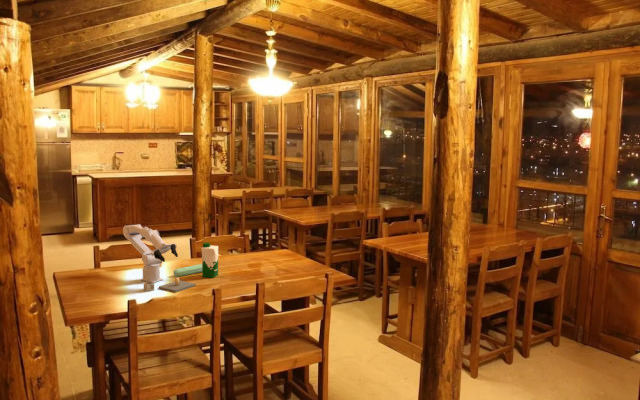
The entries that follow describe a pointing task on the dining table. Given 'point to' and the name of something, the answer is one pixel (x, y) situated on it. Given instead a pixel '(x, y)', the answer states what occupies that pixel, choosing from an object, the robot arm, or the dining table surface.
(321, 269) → the dining table surface
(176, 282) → the shaft stand
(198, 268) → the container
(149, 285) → the hub ring
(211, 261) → the milk carton
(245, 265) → the dining table surface
